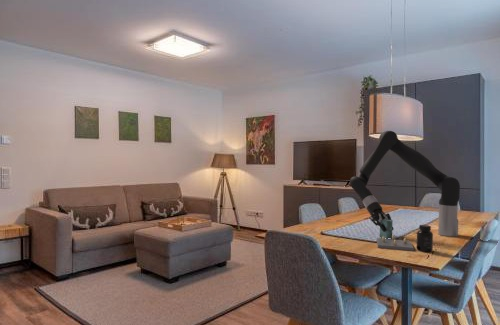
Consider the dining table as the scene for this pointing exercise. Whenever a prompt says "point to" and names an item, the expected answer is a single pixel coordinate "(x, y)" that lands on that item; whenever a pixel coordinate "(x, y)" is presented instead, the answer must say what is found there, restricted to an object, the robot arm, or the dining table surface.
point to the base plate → (394, 244)
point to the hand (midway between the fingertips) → (388, 230)
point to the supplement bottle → (424, 239)
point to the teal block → (388, 226)
